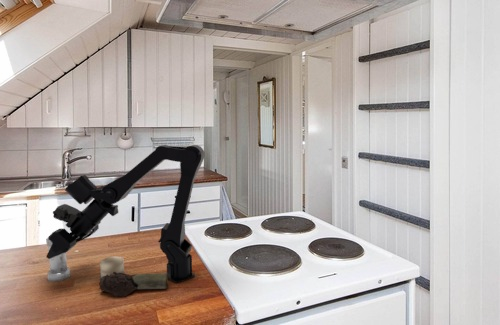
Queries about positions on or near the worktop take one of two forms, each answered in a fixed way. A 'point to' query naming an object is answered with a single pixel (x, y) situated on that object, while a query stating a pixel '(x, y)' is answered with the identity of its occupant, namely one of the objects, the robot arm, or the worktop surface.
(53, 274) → the metal knob
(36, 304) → the worktop surface
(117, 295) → the brown and green club
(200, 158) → the robot arm
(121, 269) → the fitting stand
